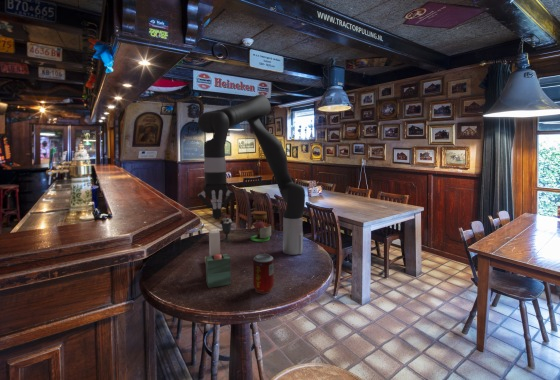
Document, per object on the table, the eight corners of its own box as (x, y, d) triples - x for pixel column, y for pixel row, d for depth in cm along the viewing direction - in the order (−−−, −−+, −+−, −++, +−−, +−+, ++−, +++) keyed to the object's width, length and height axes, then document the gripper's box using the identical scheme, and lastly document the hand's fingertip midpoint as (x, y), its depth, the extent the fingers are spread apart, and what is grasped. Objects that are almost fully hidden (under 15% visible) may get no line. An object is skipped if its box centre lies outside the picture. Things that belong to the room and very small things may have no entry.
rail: (230, 284, 110) (230, 258, 108) (208, 288, 107) (207, 261, 105) (217, 260, 133) (216, 238, 132) (199, 262, 130) (198, 240, 129)
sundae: (235, 239, 165) (234, 212, 163) (229, 242, 158) (228, 214, 156) (224, 237, 167) (224, 211, 165) (218, 241, 160) (217, 213, 158)
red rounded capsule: (222, 269, 109) (222, 256, 108) (214, 270, 108) (214, 257, 107) (221, 266, 112) (220, 253, 111) (213, 267, 110) (213, 254, 110)
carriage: (223, 276, 114) (222, 233, 112) (210, 278, 112) (208, 234, 110) (220, 270, 120) (219, 229, 117) (207, 272, 118) (206, 230, 115)
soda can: (275, 286, 108) (275, 253, 107) (270, 295, 101) (270, 260, 100) (257, 284, 110) (256, 252, 108) (250, 293, 103) (250, 259, 101)
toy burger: (246, 241, 160) (245, 214, 158) (253, 235, 172) (253, 209, 170) (267, 243, 157) (267, 215, 155) (273, 236, 169) (273, 210, 167)
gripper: (231, 169, 111) (232, 215, 113) (194, 170, 106) (196, 218, 108) (236, 170, 104) (237, 219, 106) (197, 171, 99) (199, 223, 101)
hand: (216, 218), depth 107 cm, fingers closed
